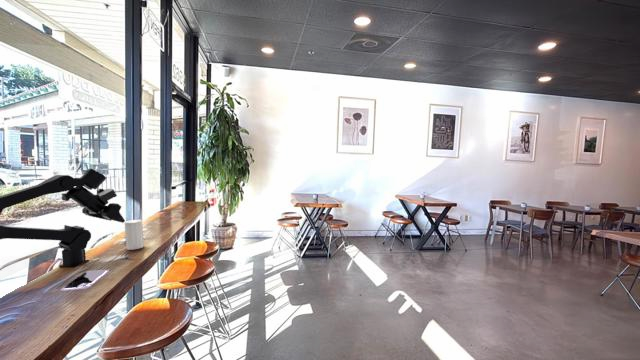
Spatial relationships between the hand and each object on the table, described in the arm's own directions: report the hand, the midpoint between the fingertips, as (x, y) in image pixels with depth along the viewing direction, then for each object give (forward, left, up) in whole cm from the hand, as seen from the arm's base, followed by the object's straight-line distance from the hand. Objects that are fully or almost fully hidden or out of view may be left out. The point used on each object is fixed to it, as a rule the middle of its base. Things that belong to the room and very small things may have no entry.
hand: (117, 220), depth 124 cm
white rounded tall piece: (+6, -3, -14) cm, 15 cm away
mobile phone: (-28, -10, -14) cm, 33 cm away
